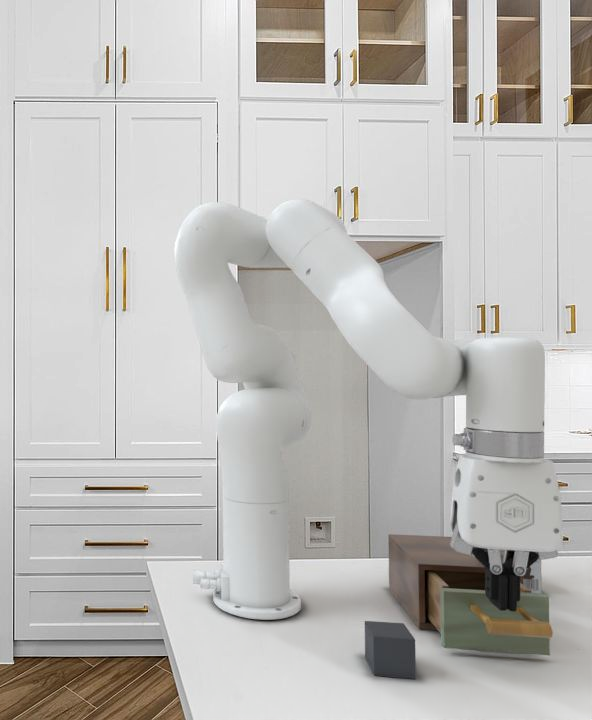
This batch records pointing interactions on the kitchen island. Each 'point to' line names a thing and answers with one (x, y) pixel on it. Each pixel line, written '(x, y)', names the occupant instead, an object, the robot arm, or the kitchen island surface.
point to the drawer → (485, 615)
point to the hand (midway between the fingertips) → (502, 605)
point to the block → (390, 649)
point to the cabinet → (423, 569)
